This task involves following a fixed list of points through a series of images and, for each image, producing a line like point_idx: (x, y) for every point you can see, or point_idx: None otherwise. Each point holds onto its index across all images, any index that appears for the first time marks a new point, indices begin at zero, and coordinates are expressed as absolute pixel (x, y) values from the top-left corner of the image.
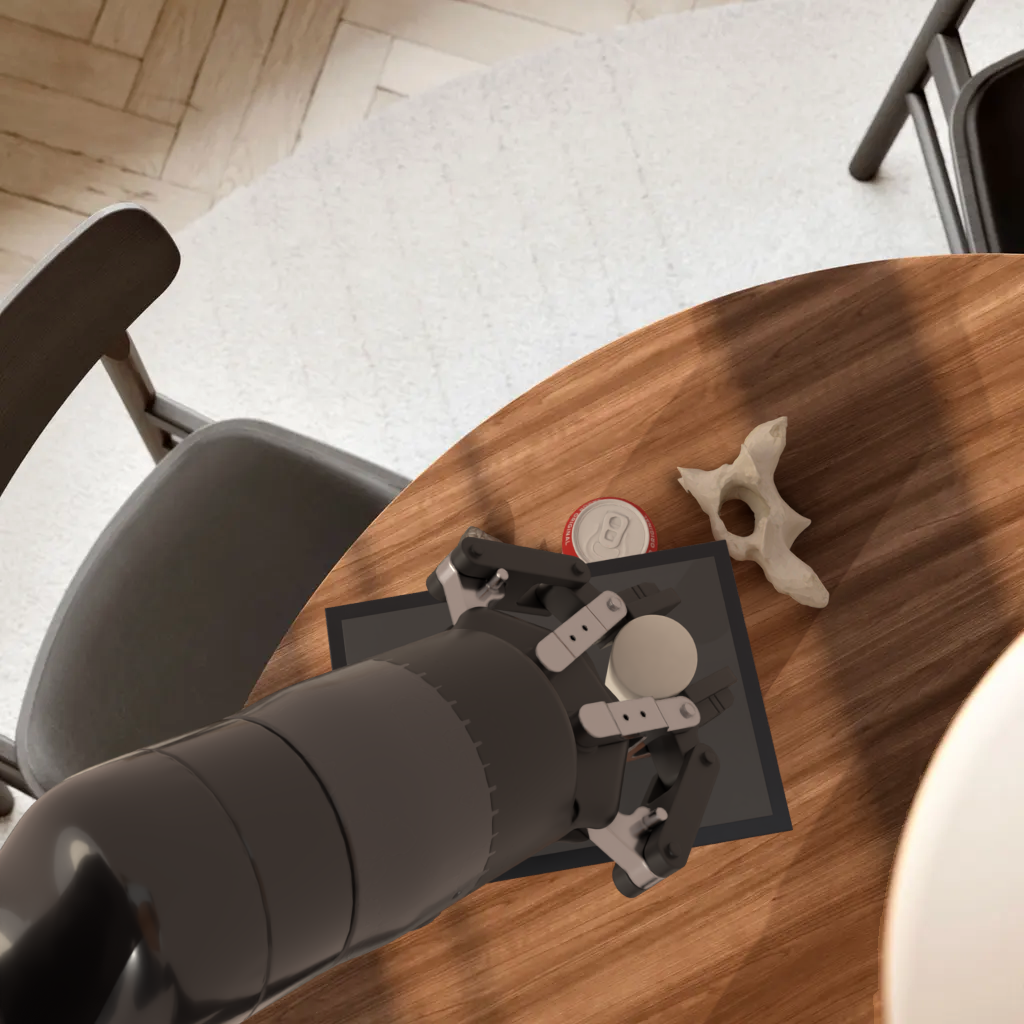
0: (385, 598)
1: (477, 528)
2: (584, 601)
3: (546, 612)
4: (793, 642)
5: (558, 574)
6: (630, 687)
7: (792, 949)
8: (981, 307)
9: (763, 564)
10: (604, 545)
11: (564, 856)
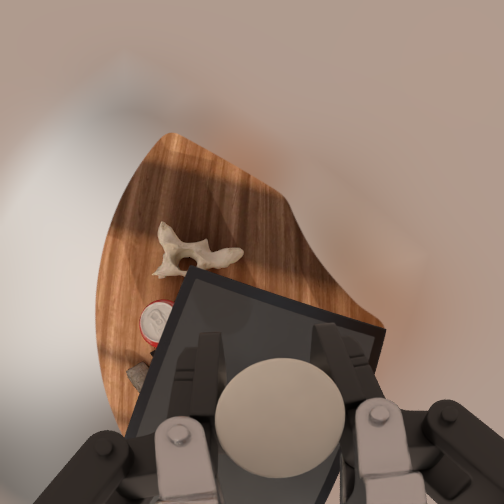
0: None
1: (128, 369)
2: (154, 469)
3: (148, 497)
4: (248, 274)
5: (93, 490)
6: (304, 469)
7: None
8: (174, 144)
9: (212, 265)
10: (161, 327)
11: (330, 473)
